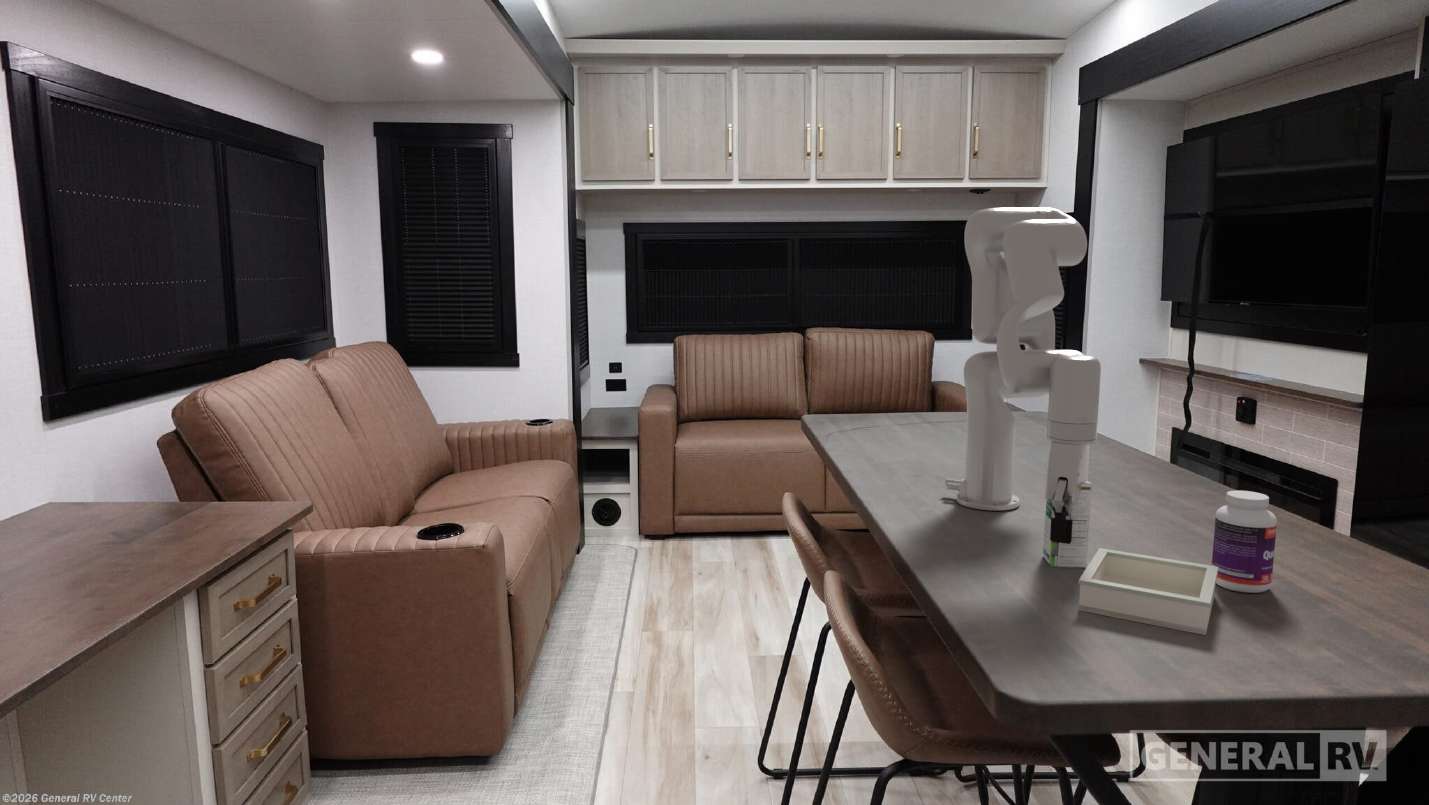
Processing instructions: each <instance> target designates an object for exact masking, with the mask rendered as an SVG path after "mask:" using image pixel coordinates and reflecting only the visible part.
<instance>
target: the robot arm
mask: <svg viewBox="0 0 1429 805" xmlns="http://www.w3.org/2000/svg"><path fill="white" fill-rule="evenodd" d="M963 238H964V250H965V254H966V257H967V262H968V264H969V268H970V272H971V280H972V281H971V329H972V335H973V337H974V339H975V340H976V341H977V342H978V343H981V344H986V345H996V350H993V351H991V350H990V351H981V352H978V353H975V354H973V355H971V356H970V357H968V358H967V360H966V361H965V364H964V366H963V381H964V389H965V395H966V396H965V397H966V433H965V434H966V438H965V463H964V464H965V465H964V466H965V467H964V478H961V479H955V478H949V477H946V479H945V481H944V483H945V484H944V486H945V487H946V489H947V490H952V491H954V490H955V491H957V492H958V493H957V494H956V499H955V500H956V502H957V503H958V504H960V505H961V506H964V507H966V508H968V509H969V508H970V509H973V510H981V511H992V512H993V511H994V512H995V511H996V512H997V511H998V512H999V511H1008V510H1009V511H1010V510H1013V509H1016V508H1018V507H1020V504H1021V500H1020V498H1019V497H1018V496H1017V495H1014V494H1013V488H1014V486H1013V485H1014V484H1013V483H1014V467H1015V466H1014V462H1015V461H1014V460H1015V444H1016V443H1015V441H1016V439H1015V438H1016V419H1015V416H1014V414H1013V412H1012V411H1011V409H1009V406H1007V405H1006V403H1005V399H1016V398H1017V399H1019V398H1020V399H1025V398H1030V399H1031V398H1032V399H1033V398H1041V397H1044V396H1047V395H1048V407H1047V410H1048V411H1047V425H1046V426H1047V429H1046V430H1047V432H1046V440H1048V441H1049V442H1051V444H1050V449H1049V453H1048V454H1049V455H1048V462H1047V463H1048V464H1047V471H1046V472H1047V473H1046V481H1045V482H1046V483H1045V493H1044V498H1045V500H1046V501H1050V500H1051V499H1052V498H1053V497H1054V494H1055V497H1054V503H1053V509H1052V517H1051V530H1050V540H1051V541H1053V542H1059V543H1065V544H1070V543H1071V541H1072V524H1073V520H1072V519H1071V513H1072V507H1073V504H1075V503H1076V502H1078V501H1079V497H1080V493H1081V487H1082V482H1084V481H1085V480H1087V481H1089V480H1088V479H1089V467H1090V466H1089V465H1090V444H1091V445H1092V444H1095V443H1096V442H1097V439H1098V438H1097V437H1098V436H1097V435H1098V423H1099V422H1098V421H1099V409H1100V408H1099V406H1100V404H1099V403H1100V391H1101V390H1100V387H1101V372H1102V371H1101V370H1102V369H1101V368H1102V366H1101V362H1100V361H1099V359H1098V358H1097V357H1094V356H1091V355H1086V354H1084V353H1083V352H1081V351H1079V350H1074V349H1056V320H1055V319H1056V317H1055V314H1054V310H1053V309H1054V308H1055V307H1057V306H1058V305H1059V304H1060V303H1061V302H1062V301H1063V299H1064V296H1065V290H1064V285H1063V281H1062V276H1061V273H1060V269H1059V267H1072V266H1076V265H1079V264H1080V263H1081V262H1083V259H1085V258H1084V257H1086V253H1087V248H1088V239H1087V234H1086V231H1085V229H1084V227H1083V226H1082V225H1081V224H1080V222H1079V221H1078V220H1076V218H1074V217H1072V216H1071V215H1069V214H1067V213H1064V212H1063V211H1062V210H1059V209H1056V208H1053V207H1037V206H1036V207H1016V206H1015V207H1014V206H1013V207H1012V206H1011V207H1006V206H1005V207H991V208H984V209H979V210H977V211H975V212H974V213H972V214H971V215H969V217H968V219H967V222H966V224H965V228H964V237H963ZM1021 345H1024V350H1023V349H1021ZM1067 486H1068V488H1067ZM1065 496H1066V497H1068V498H1070V500H1064V497H1065ZM1063 505H1068V508H1066V506H1063ZM1066 509H1067V510H1066Z"/></svg>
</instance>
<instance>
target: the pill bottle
mask: <svg viewBox="0 0 1429 805" xmlns="http://www.w3.org/2000/svg"><path fill="white" fill-rule="evenodd" d="M1225 496H1226V498H1225V500H1226V501H1225V502H1226V503H1227V504H1226V505H1223V506H1220V507H1219V508H1218V509H1217V510H1216V512H1215V516H1214V517H1215V519H1214V530H1213V534H1214V535H1213V543H1212V546H1213V547H1212V554H1211V556H1212V557H1211V565H1210V566H1217V567H1218V574H1217V578H1216V583H1215V585H1218V586H1220V587H1222V588H1224V589H1226V590H1230V591H1235V592H1240V593H1251V594H1254V593H1255V594H1257V593H1264V592H1266V591H1268V590H1269V589H1271V587H1272V582H1273V571H1274V560H1275V549H1276V539H1277V528H1278V519H1277V517H1276V515H1275V514H1274V513H1273V512H1272V511H1271V510H1268V509H1267V508H1268V507H1269V503H1270V497H1269V496H1268V495H1267V494H1264V493H1260V492H1256V491H1252V490H1251V491H1249V490H1229V491H1227V492H1226V495H1225Z"/></svg>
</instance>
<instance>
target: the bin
mask: <svg viewBox="0 0 1429 805" xmlns="http://www.w3.org/2000/svg"><path fill="white" fill-rule="evenodd" d="M1217 574H1218V567H1217V566H1211V565H1209V564H1203V563H1197V562H1189V561H1184V560H1178V559H1172V558H1167V557H1166V558H1165V557H1161V556H1152V555H1147V554H1139V553H1133V552H1128V551H1127V552H1126V551H1122V550H1114V549H1109V548H1102V547H1099V548H1098V550H1097V551H1096V552H1095V553H1094V556H1093V557H1092V559H1091V560H1090V561H1089V563H1088V565H1086V567H1085V570H1084V571H1083V573H1082V574H1081V575H1080V578H1079V579H1078V584H1079V598H1078V599H1079V600H1078V611H1080V612H1086V613H1090V614H1091V613H1092V614H1097V615H1102V616H1107V617H1111V618H1116V619H1120V620H1127V621H1131V622H1137V623H1142V624H1146V625H1147V624H1148V625H1151V626H1157V627H1160V628H1161V627H1163V628H1166V629H1167V628H1168V629H1172V630H1178V631H1182V632H1186V633H1193V634H1198V635H1204V636H1207V633H1208V627H1209V623H1210V619H1211V614H1212V610H1213V609H1212V608H1213V605H1214V601H1215V595H1216V594H1215V593H1216V591H1215V590H1216V578H1217Z"/></svg>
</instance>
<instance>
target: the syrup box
mask: <svg viewBox="0 0 1429 805" xmlns="http://www.w3.org/2000/svg"><path fill="white" fill-rule="evenodd" d="M1067 488H1068V486H1067ZM1092 493H1093V483H1092V482H1090V481H1089V480H1088V481H1087V480H1085V481H1084V482H1082V487H1081V493H1080V497H1079V501H1078V502H1076V503H1075V504H1073V507H1072V513H1071V519H1072V520H1073V524H1072V541H1071V543H1070V544H1065V543H1059V542H1053V541H1051V540H1050V530H1051V517H1052V509H1053V503H1054V497H1055V494H1054V497H1053V498H1052V499H1051V500H1050V501H1047V500H1046V504H1045V516H1044V517H1045V518H1044V528H1043V530H1044V531H1043V532H1044V533H1043V546H1042V548H1043V549H1042V557H1043V558H1045V560H1046V562H1047V563H1048V564H1049V565H1050V567H1051V568H1087V562H1088V561H1087V560H1088V559H1087V558H1088V549H1089V548H1088V546H1089V533H1090V520H1091V506H1092V496H1093V494H1092ZM1064 500H1070V498H1068V497H1066V496H1065V497H1064ZM1063 506H1066V508H1068V505H1063ZM1066 510H1067V509H1066Z"/></svg>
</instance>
